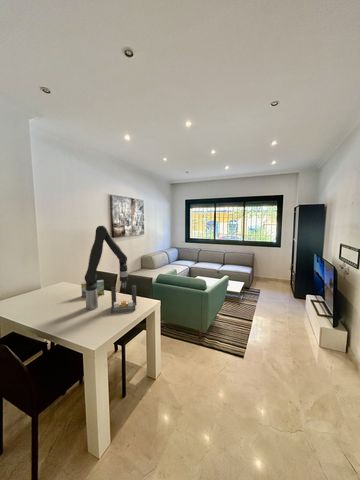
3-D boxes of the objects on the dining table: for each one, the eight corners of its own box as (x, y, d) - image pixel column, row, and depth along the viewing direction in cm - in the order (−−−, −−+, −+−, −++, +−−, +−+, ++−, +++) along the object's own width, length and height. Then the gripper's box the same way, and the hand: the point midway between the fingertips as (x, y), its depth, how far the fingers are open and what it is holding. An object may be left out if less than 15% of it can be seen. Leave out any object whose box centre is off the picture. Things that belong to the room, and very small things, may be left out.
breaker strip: (111, 313, 166) (111, 308, 166) (112, 309, 173) (112, 304, 172) (135, 310, 171) (135, 305, 170) (135, 307, 177) (135, 302, 177)
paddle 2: (128, 306, 170) (128, 302, 170) (128, 304, 174) (128, 300, 174) (132, 305, 171) (132, 302, 171) (133, 303, 175) (132, 300, 175)
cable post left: (111, 308, 176) (110, 288, 174) (112, 306, 180) (111, 287, 178) (116, 307, 177) (115, 288, 175) (116, 305, 181) (115, 286, 179)
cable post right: (132, 305, 180) (131, 287, 178) (132, 304, 184) (131, 285, 182) (136, 305, 181) (135, 286, 179) (136, 303, 185) (135, 285, 183)
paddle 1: (113, 307, 168) (113, 303, 167) (114, 305, 172) (114, 302, 171) (118, 307, 169) (118, 303, 168) (119, 305, 172) (118, 301, 172)
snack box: (81, 297, 199) (81, 283, 197) (82, 295, 204) (81, 281, 202) (104, 294, 207) (103, 281, 205) (104, 292, 212) (103, 279, 210)
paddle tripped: (121, 307, 169) (120, 303, 169) (121, 305, 173) (121, 301, 173) (125, 306, 170) (125, 302, 170) (126, 304, 174) (125, 300, 173)
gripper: (119, 273, 189) (120, 291, 191) (119, 277, 177) (119, 296, 179) (127, 273, 191) (128, 290, 193) (127, 277, 178) (128, 295, 180)
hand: (124, 293), depth 186 cm, fingers closed
